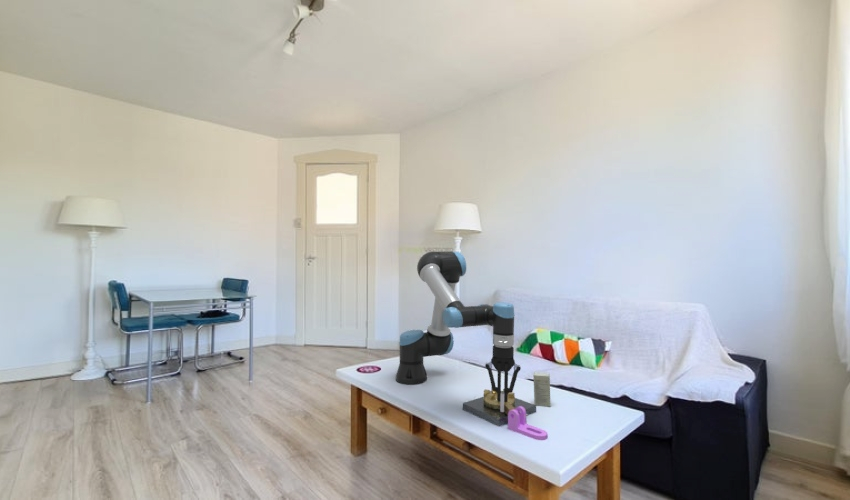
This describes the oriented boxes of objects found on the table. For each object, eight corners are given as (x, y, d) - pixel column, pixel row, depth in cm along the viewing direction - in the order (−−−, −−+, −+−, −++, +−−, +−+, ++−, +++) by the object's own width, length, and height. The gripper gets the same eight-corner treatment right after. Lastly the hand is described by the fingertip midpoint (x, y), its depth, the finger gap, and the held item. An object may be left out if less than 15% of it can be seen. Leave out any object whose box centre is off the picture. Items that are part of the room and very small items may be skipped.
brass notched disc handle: (479, 398, 155) (479, 387, 155) (507, 397, 157) (507, 385, 157) (496, 418, 136) (496, 405, 136) (528, 415, 138) (528, 403, 138)
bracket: (508, 429, 134) (508, 409, 134) (517, 424, 138) (516, 404, 138) (542, 442, 125) (541, 420, 125) (550, 436, 129) (550, 415, 129)
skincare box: (550, 403, 158) (550, 373, 158) (550, 407, 154) (550, 376, 154) (534, 401, 160) (534, 371, 160) (533, 405, 156) (533, 374, 156)
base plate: (462, 409, 151) (462, 403, 151) (499, 397, 164) (498, 391, 164) (506, 429, 133) (506, 422, 133) (544, 414, 146) (543, 408, 146)
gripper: (484, 346, 139) (483, 413, 138) (521, 349, 136) (520, 416, 136) (485, 342, 146) (484, 405, 146) (520, 344, 144) (519, 408, 143)
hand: (502, 410), depth 141 cm, fingers closed
